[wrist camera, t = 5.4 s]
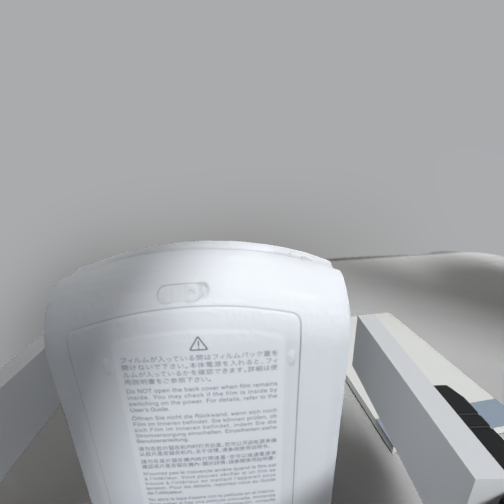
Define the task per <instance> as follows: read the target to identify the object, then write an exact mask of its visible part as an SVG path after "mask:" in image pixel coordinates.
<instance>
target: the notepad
mask: <svg viewBox="0 0 504 504" xmlns="http://www.w3.org/2000/svg"><path fill="white" fill-rule="evenodd" d="M371 315H375V316H376V317H377V318H378V319H379V321H380V322H381V323H382V324H383V325H384V327H385V328H386V329H387V330H388V332H389V333H390V334H391V335H392V336H393V338H394V339H395V340H396V341H397V342H398V344H399V345H400V346H401V347H402V348H403V350H404V351H405V352H406V353H407V354H408V356H409V357H410V358H411V359H412V360H413V362H414V363H415V364H416V365H417V366H418V368H419V369H420V370H421V371H422V372H423V374H424V375H425V376H426V377H427V378H428V380H429V381H430V382H431V383H432V384H433V385H447V386H449V387H450V388H452V389H453V390H454V391H456V392H457V393H459V394H460V395H461V396H463V397H464V398H465V399H466V400H467V401H468V402H469V403H470V404H471V405H472V406H473V408H474V409H475V410H476V411H477V412H478V415H481V416H482V417H483V418H484V419H485V421H486V422H487V423H488V424H489V425H490V428H491V429H492V428H493V429H494V430H495V431H496V433H497V434H498V433H503V432H504V406H503V405H502V404H501V403H500V402H499V401H497V400H496V399H494V398H493V397H492V396H490V395H489V394H488V393H487V392H486V391H484V390H483V389H482V388H481V387H480V386H478V385H477V384H476V383H475V382H473V381H472V380H471V379H470V378H469V377H467V376H466V375H465V374H464V373H462V372H461V371H460V370H459V369H458V368H456V367H455V366H454V365H453V364H452V363H450V362H449V361H448V360H447V359H445V358H444V357H443V356H442V355H441V354H439V353H438V352H437V351H436V350H434V349H433V348H432V347H431V346H430V345H428V344H427V343H426V342H425V341H424V340H422V339H421V338H420V337H419V336H417V335H416V334H415V333H414V332H413V331H411V330H410V329H409V328H408V327H407V326H405V325H404V324H403V323H402V322H400V321H399V320H398V319H397V318H396V317H394V316H393V315H392V314H391V313H380V314H371ZM350 323H351V337H350V346H349V354H348V363H347V370H346V381H347V383H348V384H349V386H350V388H351V389H352V391H353V392H354V394H355V395H356V397H357V399H358V400H359V402H360V403H361V405H362V406H363V408H364V410H365V411H366V413H367V414H368V416H369V417H370V419H371V421H372V422H373V424H374V425H375V427H376V429H377V430H378V432H379V433H380V435H381V436H382V438H383V440H384V441H385V443H386V444H387V446H388V447H389V449H390V451H391V452H392V454H393V453H397V451H396V449H395V447H394V445H393V444H392V442H391V440H390V438H389V436H388V434H387V432H386V430H385V428H384V426H383V424H382V422H381V420H380V418H379V416H378V414H377V412H376V410H375V409H374V407H373V405H372V403H371V401H370V399H369V397H368V395H367V393H366V391H365V389H364V387H363V385H362V383H361V381H360V379H359V377H358V375H357V374H356V372H355V370H354V368H353V366H352V361H353V352H354V343H355V334H356V325H357V316H353V317H350Z"/></svg>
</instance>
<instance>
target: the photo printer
mask: <svg viewBox="0 0 504 504" xmlns="http://www.w3.org/2000/svg"><path fill="white" fill-rule="evenodd" d="M350 337H351V323H350V308H349V300H348V295H347V289H346V285H345V282H344V278H343V275H342V273H341V272H340V271H339V270H337V269H334V268H333V267H332V265H331V262H330V261H328V260H326V259H323V258H321V257H318V256H315V255H312V254H309V253H306V252H302V251H298V250H294V249H290V248H285V247H280V246H275V245H269V244H260V243H252V242H241V241H189V242H178V243H170V244H164V245H159V246H152V247H146V248H142V249H137V250H133V251H129V252H125V253H122V254H118V255H115V256H111V257H108V258H106V259H103V260H100V261H97V262H95V263H92V264H89V265H87V266H85V267H83V268H80V269H77V270H76V271H75V273H74V274H73V275H71V276H69V277H67V278H64V279H63V280H60V281H58V282H57V284H56V285H55V287H54V289H53V291H52V293H51V295H50V299H49V302H48V305H47V309H46V316H45V324H44V345H45V351H46V356H47V360H48V363H49V366H50V369H51V372H52V376H53V379H54V382H55V385H56V388H57V392H58V395H59V398H60V402H61V405H62V408H63V411H64V415H65V418H66V421H67V425H68V427H69V430H70V434H71V437H72V440H73V443H74V447H75V450H76V453H77V457H78V460H79V463H80V466H81V470H82V473H83V477H84V479H85V483H86V486H87V489H88V492H89V496H90V499H91V503H92V504H331V499H332V490H333V481H334V472H335V464H336V456H337V447H338V438H339V429H340V420H341V413H342V404H343V396H344V388H345V380H346V370H347V363H348V354H349V346H350Z"/></svg>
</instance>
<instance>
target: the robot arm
mask: <svg viewBox="0 0 504 504" xmlns="http://www.w3.org/2000/svg"><path fill="white" fill-rule="evenodd" d="M352 366H353V368H354V370H355V372H356V374H357V375H358V377H359V379H360V381H361V383H362V385H363V387H364V389H365V391H366V393H367V395H368V397H369V399H370V401H371V403H372V405H373V407H374V409H375V410H376V412H377V414H378V416H379V418H380V420H381V422H382V424H383V426H384V428H385V430H386V432H387V434H388V436H389V438H390V440H391V442H392V444H393V445H394V447H395V449H396V451H397V453H398V455H399V457H400V459H401V461H402V463H403V465H404V467H405V469H406V471H407V473H408V475H409V477H410V479H411V480H412V482H413V484H414V486H415V488H416V490H417V492H418V494H419V496H420V498H421V500H422V502H423V504H504V440H503V439H502V438H501V437H500V436H499V435H498V434H497V433H496V431H495V430H494V429H493V428H492V429H491V428H490V425H489V424H488V423H487V422H486V421H485V419H484V418H483V417H482V416H481V415H478V412H477V411H476V410H475V409H474V408H473V406H472V405H471V404H470V403H469V402H468V401H467V400H466V399H465V398H464V397H463V396H461V395H460V394H459V393H457V392H456V391H454V390H453V389H452V388H450V387H449V386H447V385H433V384H432V383H431V382H430V381H429V380H428V378H427V377H426V376H425V375H424V374H423V372H422V371H421V370H420V369H419V368H418V366H417V365H416V364H415V363H414V362H413V360H412V359H411V358H410V357H409V356H408V354H407V353H406V352H405V351H404V350H403V348H402V347H401V346H400V345H399V344H398V342H397V341H396V340H395V339H394V338H393V336H392V335H391V334H390V333H389V332H388V330H387V329H386V328H385V327H384V325H383V324H382V323H381V322H380V321H379V319H378V318H377V317H376V316H375V315H358V316H357V325H356V334H355V343H354V352H353V361H352ZM60 405H61V402H60V398H59V395H58V392H57V388H56V385H55V382H54V379H53V376H52V372H51V369H50V366H49V363H48V360H47V356H46V351H45V345H44V333H43V334H42V335H41V336H40V337H39V338H37V339H36V340H35V341H34V342H33V343H31V344H30V345H29V346H28V347H27V348H25V349H24V350H23V351H22V352H21V353H19V354H18V355H17V356H16V357H15V358H13V359H12V360H11V361H10V362H8V363H7V364H6V365H5V366H4V367H2V368H1V369H0V482H1V481H2V479H3V478H4V477H5V475H6V474H7V473H8V472H9V470H10V469H11V468H12V466H13V465H14V464H15V463H16V461H17V460H18V459H19V457H20V456H21V455H22V454H23V452H24V451H25V450H26V448H27V447H28V446H29V445H30V443H31V442H32V441H33V439H34V438H35V437H36V436H37V434H38V433H39V432H40V430H41V429H42V428H43V427H44V425H45V424H46V423H47V421H48V420H49V419H50V417H51V416H52V415H53V414H54V412H55V411H56V410H57V408H58V407H59V406H60Z"/></svg>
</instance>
